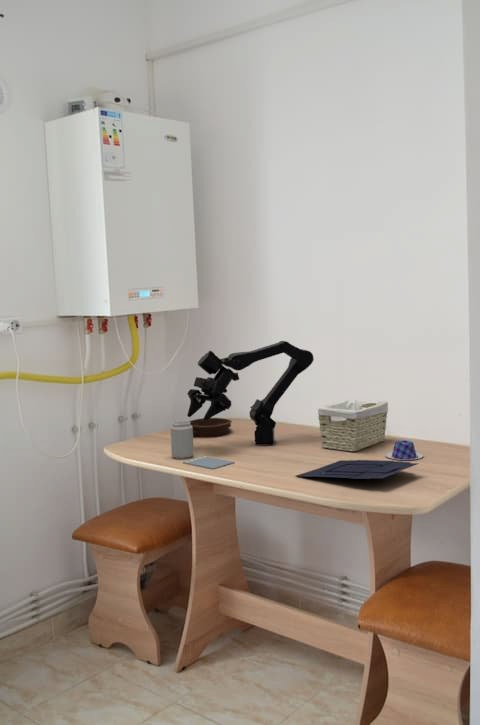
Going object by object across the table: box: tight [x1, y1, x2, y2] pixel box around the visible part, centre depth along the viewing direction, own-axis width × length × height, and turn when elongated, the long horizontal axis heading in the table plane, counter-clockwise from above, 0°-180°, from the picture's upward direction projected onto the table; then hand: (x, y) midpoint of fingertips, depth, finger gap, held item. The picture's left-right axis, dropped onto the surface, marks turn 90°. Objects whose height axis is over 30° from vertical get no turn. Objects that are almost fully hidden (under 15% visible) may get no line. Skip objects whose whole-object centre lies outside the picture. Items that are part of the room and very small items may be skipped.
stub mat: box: [182, 455, 236, 470], centre depth 251 cm, size 14×10×1 cm
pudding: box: [385, 440, 424, 461], centre depth 251 cm, size 12×12×5 cm
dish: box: [188, 417, 233, 438], centre depth 298 cm, size 17×22×5 cm
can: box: [170, 420, 195, 460], centre depth 260 cm, size 8×8×12 cm
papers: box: [295, 459, 420, 480], centre depth 229 cm, size 24×30×4 cm
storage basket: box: [317, 398, 389, 452], centre depth 270 cm, size 24×16×15 cm
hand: (196, 418), depth 264 cm, fingers open, 9 cm apart
